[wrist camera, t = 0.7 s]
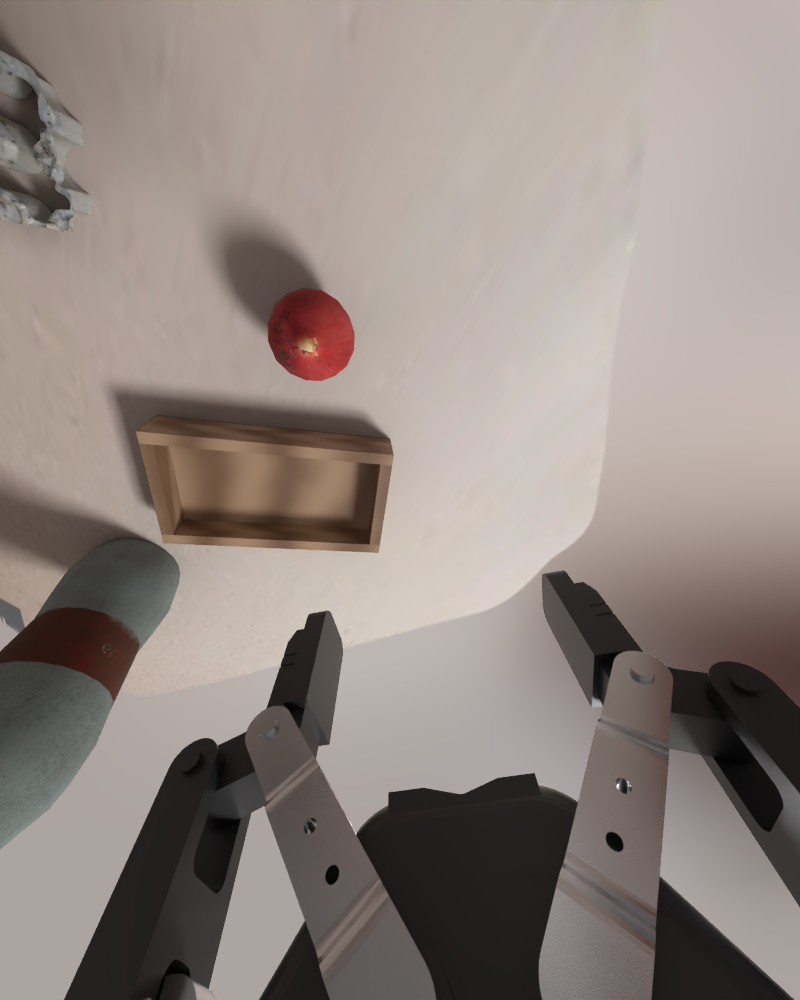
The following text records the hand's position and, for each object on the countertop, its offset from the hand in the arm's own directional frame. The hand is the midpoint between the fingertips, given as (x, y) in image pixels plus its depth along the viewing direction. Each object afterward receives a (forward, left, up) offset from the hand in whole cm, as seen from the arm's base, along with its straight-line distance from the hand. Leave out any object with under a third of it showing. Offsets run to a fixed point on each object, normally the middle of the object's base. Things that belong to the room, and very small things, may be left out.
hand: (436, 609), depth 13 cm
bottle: (-24, -20, -23) cm, 39 cm away
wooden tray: (-9, -8, -22) cm, 26 cm away
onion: (-6, +6, -23) cm, 24 cm away
